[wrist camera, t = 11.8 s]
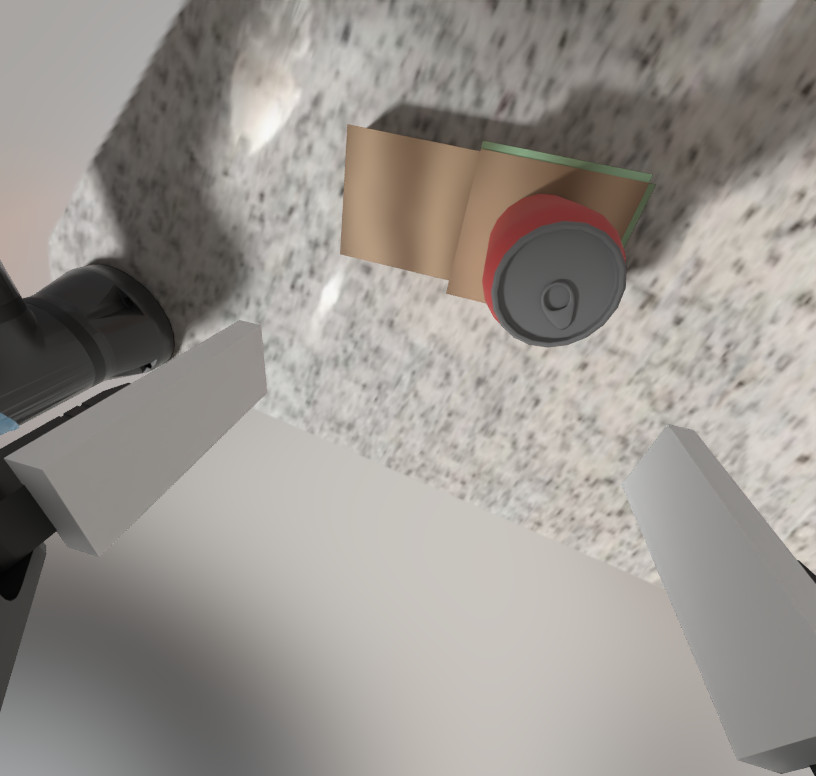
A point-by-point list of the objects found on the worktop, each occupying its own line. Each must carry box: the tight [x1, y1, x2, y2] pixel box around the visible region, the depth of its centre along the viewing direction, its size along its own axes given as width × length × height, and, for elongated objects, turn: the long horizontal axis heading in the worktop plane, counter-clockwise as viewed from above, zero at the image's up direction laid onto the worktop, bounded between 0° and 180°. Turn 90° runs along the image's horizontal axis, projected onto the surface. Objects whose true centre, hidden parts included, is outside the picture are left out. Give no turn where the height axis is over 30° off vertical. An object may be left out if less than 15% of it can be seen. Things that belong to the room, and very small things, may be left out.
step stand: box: [340, 125, 656, 303], centre depth 29 cm, size 22×10×8 cm, turn 80°
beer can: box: [482, 194, 627, 347], centre depth 20 cm, size 7×7×12 cm
